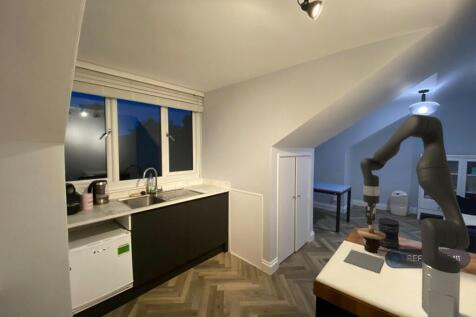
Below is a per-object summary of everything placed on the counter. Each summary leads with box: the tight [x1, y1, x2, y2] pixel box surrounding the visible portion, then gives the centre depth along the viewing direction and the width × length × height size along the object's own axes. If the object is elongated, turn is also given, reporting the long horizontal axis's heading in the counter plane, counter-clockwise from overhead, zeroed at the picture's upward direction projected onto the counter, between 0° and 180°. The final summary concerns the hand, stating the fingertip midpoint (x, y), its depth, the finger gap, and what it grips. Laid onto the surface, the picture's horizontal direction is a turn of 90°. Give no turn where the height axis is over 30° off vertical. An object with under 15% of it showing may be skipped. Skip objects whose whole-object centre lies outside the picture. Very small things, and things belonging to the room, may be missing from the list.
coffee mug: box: [362, 236, 381, 254], centre depth 111 cm, size 12×9×10 cm
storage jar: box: [377, 217, 400, 251], centre depth 117 cm, size 10×10×15 cm
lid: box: [357, 223, 386, 239], centre depth 111 cm, size 13×13×5 cm
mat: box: [343, 249, 385, 274], centre depth 103 cm, size 15×15×1 cm
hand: (371, 222), depth 111 cm, fingers open, 8 cm apart
